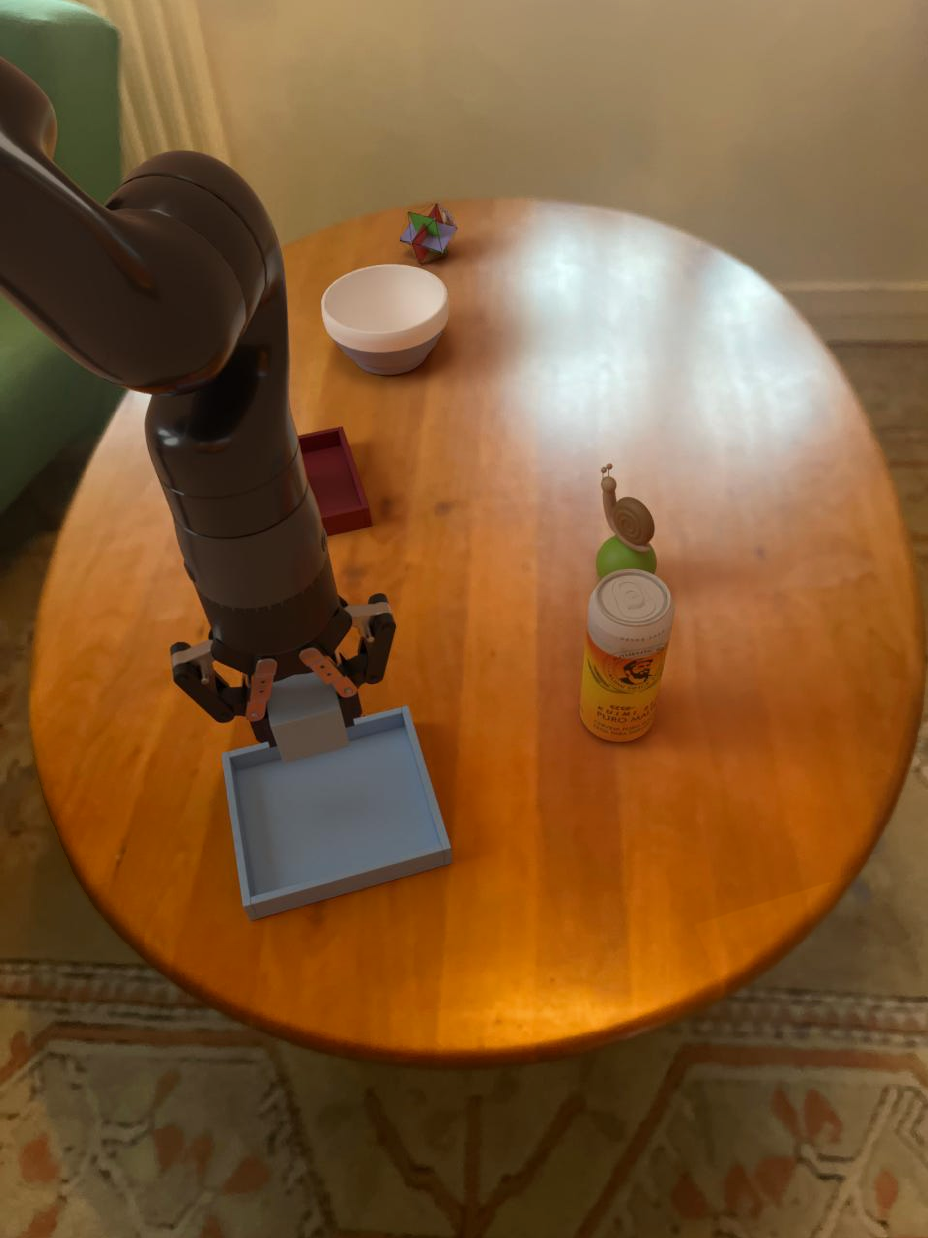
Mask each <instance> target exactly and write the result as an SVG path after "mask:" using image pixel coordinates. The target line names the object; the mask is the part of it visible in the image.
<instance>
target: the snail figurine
mask: <svg viewBox="0 0 928 1238" xmlns="http://www.w3.org/2000/svg"><path fill="white" fill-rule="evenodd" d="M612 469H613V464H612V463H607V464H606V466H602V467H601V468H600V472H601V474H602V475H605V473H607V476H602V479H601V482H600V487H601V490H602V505H603V512H604V516H605V518H606V522H607V525H608V527H609V529H610V530H611V531H612V532H613V534H614V535H612V536H611V537H609V538H608V539H606V540H605V541H604V542H603V543H602V545H601V546H600V548H599V549H598V551H597V554H596V557H595V568H596V569H595V570H596V572H597V575H598V577H599V579H600V581H601V580H602V579H603V578H604V577H605V576H607V575H608V574H610V573H612V572H615V571H618V570H623V569H638V570H643V571H646V572H649V573H651V574H653V575H655V574H656V571H657V566H658V560H657V559H658V558H657V554H656V552H655V549H654V547H653V546H652V544H651V543H650V542H651V541H652V540H653V538H654V536H655V531H656V526H655V521H654V517H653V515H652V513H651V511H650V510H649V509H648V507H647V506H646V505H645V504H644V503H643V502H642V501H641V500H639V499H637V498H636V497H632V496H624V497H621V498H619V499H618V500H617V494H616V490H617V487H618V486H617V485H618V483H617V480H616V479H615V478H614V477H612V476H610V470H612Z"/></svg>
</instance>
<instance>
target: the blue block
mask: <svg viewBox="0 0 928 1238" xmlns="http://www.w3.org/2000/svg"><path fill="white" fill-rule="evenodd" d="M266 706H267V711H268V716H269V721H270V727H271V729H272V732H273V735H274V738H275V740H276V743H277V746H278V749H279V751H280V754H281V757H282V760H283V762H284V763H289V762H292V761H296V760H300V759H304V758H307V757H311V756H315V755H319V754H322V753H326V752H330V751H333V750H337V749H341V748H345V747H348V746H350V744H349V740H348V736H347V732H346V728H345V724H344V720H343V716H342V712H341V708H340V705H339V701H338V697H337V693H336V690H335V689H334V688H333V687H332V686H331V685H328V686H327V685H326V684H325V683H324V682H323V681H322V680H321V679H320V678H319V677H318V676H317V674H316V673H315V672H312V673H308V674H299V675H292V676H290V677H288V678H286V679H283V680H281V681H277V682H273V684H272V690H271V695H270V700H269V701H267V705H266Z"/></svg>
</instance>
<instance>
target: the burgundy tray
mask: <svg viewBox="0 0 928 1238" xmlns="http://www.w3.org/2000/svg"><path fill="white" fill-rule="evenodd" d="M297 435H298V439H299V443H300V448H301V452H302V456H303V461H304V465H305V470H306V475H307V478H308V482H309V484H310V487H311V489H312V491H313V493H314V496H315V498H316V501H317V504H318V507H319V511H320V515H321V519H322V524H323V528H324V529H325V532H326V534H327V537H330V536H332V535H337V534H342V533H346V532H350V531H355V530H360V529H364V528H369V527H372V526H373V522H372V517H371V511H370V510H371V509H370V506H369V503H368V499H367V496H366V493H365V490H364V487H363V485H362V481H361V477H360V475H359V472H358V468H357V465H356V462H355V458H354V457H353V453H352V450H351V447H350V444H349V441H348V438H347V434H346V432H345V429H344V425H343V426H336V427H331V428H327V429H322V430H318V431H312V432H307V433H304V434H297Z"/></svg>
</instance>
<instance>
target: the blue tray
mask: <svg viewBox="0 0 928 1238" xmlns="http://www.w3.org/2000/svg"><path fill="white" fill-rule="evenodd" d="M353 720H354V724H355V726H352V727H348V728H346V732H347V736H348V740H349V744H350V746H348V747H345V748H341V749H337V750H333V751H330V752H326V753H322V754H319V755H315V756H311V757H307V758H304V759H300V760H296V761H292V762H289V763H284V762H283V760H282V757H281V754H280V751H279V749H278V746H277V747H273V748H270V746H269V744H268V742H264V743H260V742H259V743H257V744H253V745H249V746H245V747H241V748H237V749H233V750H229V751H225V752H222V753H221V762H222V767H223V768H222V769H223V775H224V783H225V790H226V798H227V803H228V804H227V805H228V811H229V819H230V825H231V831H232V832H231V833H232V839H233V846H234V847H233V848H234V854H235V861H236V868H237V874H238V875H237V876H238V881H239V888H240V889H239V890H240V895H241V903H242V907H243V909H244V911H245V913H246V916H247V917H248V919H249V920H250V921H255V920H258V919H261V918H265V917H268V916H272V915H276V914H279V913H282V912H286V911H290V910H293V909H297V908H300V907H303V906H307V905H310V904H314V903H317V902H321V901H324V900H328V899H331V898H335V897H338V896H342V895H346V894H349V893H352V892H357V891H359V890H363V889H366V888H370V887H374V886H377V885H381V884H384V883H388V882H391V881H395V880H398V879H402V878H405V877H409V876H412V875H416V874H419V873H422V872H427V871H430V870H433V869H437V868H440V867H443V866H447V865H450V864H453V863H454V861H453V852H452V845H451V842H450V839H449V835H448V831H447V830H446V829H447V828H446V826H445V823H444V819H443V816H442V813H441V809H440V806H439V802H438V799H437V797H436V796H437V795H436V793H435V790H434V786H433V783H432V780H431V775H430V773H429V770H428V767H427V763H426V760H425V757H424V753H423V750H422V747H421V744H420V740H419V737H418V733H417V730H416V727H415V724H414V721H413V718H412V714H411V711H410V707H409V705H408V704H407V705H403V706H401V707H395V708H392V709H387V710H384V711H381V712H376V713H373V714H369V715H368V714H367V715H365V716H361V717H359V718H355V719H353Z"/></svg>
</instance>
